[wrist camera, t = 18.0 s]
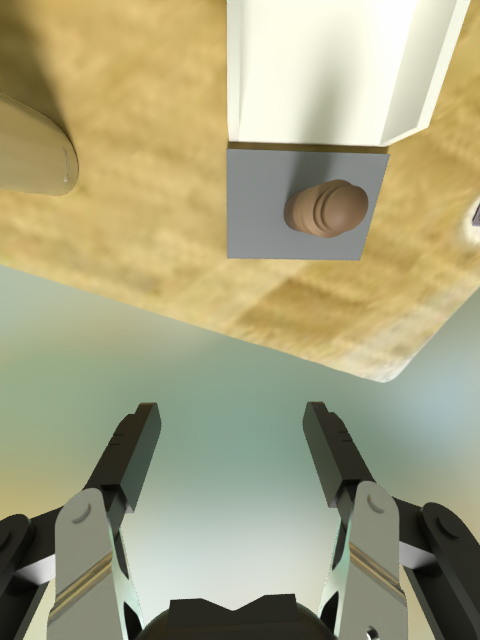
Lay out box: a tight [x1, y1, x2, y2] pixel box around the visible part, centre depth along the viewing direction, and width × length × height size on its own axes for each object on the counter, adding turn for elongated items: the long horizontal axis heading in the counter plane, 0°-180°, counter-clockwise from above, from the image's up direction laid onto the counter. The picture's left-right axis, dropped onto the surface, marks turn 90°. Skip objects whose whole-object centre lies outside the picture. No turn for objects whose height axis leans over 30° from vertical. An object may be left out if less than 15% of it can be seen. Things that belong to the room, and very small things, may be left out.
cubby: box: [227, 0, 470, 147], centre depth 21 cm, size 21×13×7 cm, turn 89°
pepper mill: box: [284, 179, 369, 238], centre depth 24 cm, size 5×5×14 cm
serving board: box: [227, 149, 390, 260], centre depth 31 cm, size 22×14×1 cm, turn 89°
